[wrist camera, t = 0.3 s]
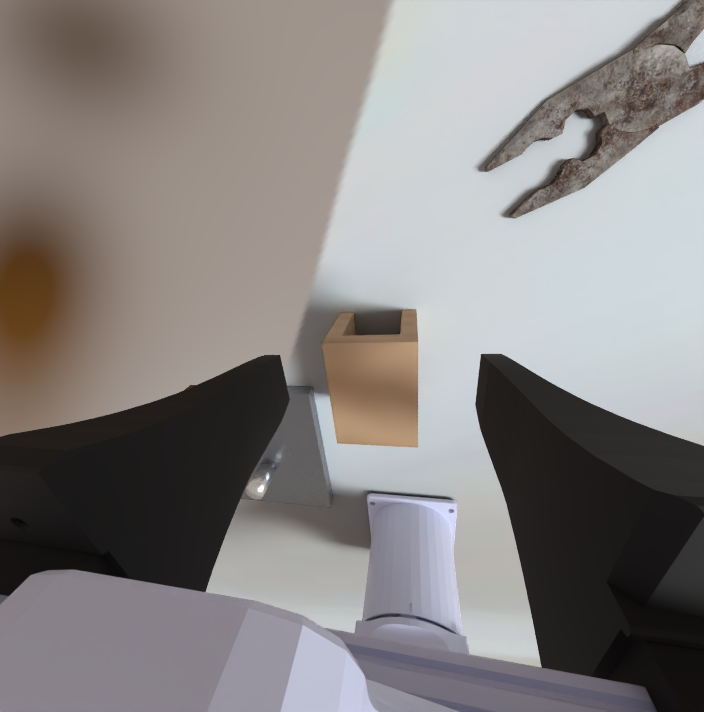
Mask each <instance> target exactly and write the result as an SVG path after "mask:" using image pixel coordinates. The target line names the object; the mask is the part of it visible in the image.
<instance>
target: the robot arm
mask: <svg viewBox="0 0 704 712" xmlns="http://www.w3.org/2000/svg"><path fill="white" fill-rule="evenodd" d="M289 401H290V398H289V393H288V389H287V385H286V380H285V376H284V371H283V367H282V362H281V358H280V355H264V356H261V357H258V358H256V359H253V360H251V361H248V362H246V363H244V364H242V365H240V366H238V367H235V368H233V369H231V370H229V371H227V372H225V373H223V374H221V375H219V376H216V377H214V378H212V379H210V380H207V381H205V382H203V383H201V384H198V385H196V386H194V387H192V388H189V389H187V390H184V391H182V392H179V393H177V394H174V395H172V396H168V397H166V398H163V399H160V400H157V401H154V402H151V403H148V404H144V405H141V406H138V407H135V408H131V409H128V410H124V411H121V412H118V413H114V414H110V415H106V416H102V417H98V418H94V419H89V420H85V421H80V422H75V423H71V424H66V425H61V426H55V427H50V428H44V429H38V430H33V431H27V432H21V433H15V434H9V435H5V436H2V437H0V712H704V446H702V445H699V444H696V443H693V442H690V441H687V440H684V439H681V438H678V437H675V436H672V435H669V434H666V433H663V432H661V431H658V430H655V429H652V428H649V427H647V426H644V425H641V424H638V423H636V422H633V421H631V420H628V419H626V418H623V417H621V416H618V415H616V414H614V413H611V412H609V411H607V410H604V409H602V408H600V407H598V406H595V405H593V404H591V403H589V402H587V401H584V400H582V399H580V398H578V397H576V396H574V395H573V394H571V393H569V392H567V391H565V390H563V389H561V388H559V387H557V386H556V385H554V384H552V383H550V382H548V381H547V380H545V379H543V378H541V377H540V376H538V375H536V374H535V373H533V372H531V371H530V370H528V369H526V368H525V367H523V366H522V365H520V364H518V363H517V362H515V361H513V360H512V359H510V358H508V357H506V356H504V355H502V354H481V360H480V369H479V377H478V386H477V395H476V404H475V405H476V410H477V415H478V420H479V425H480V429H481V432H482V435H483V438H484V441H485V444H486V447H487V449H488V452H489V455H490V458H491V460H492V463H493V466H494V469H495V471H496V474H497V477H498V480H499V482H500V485H501V488H502V491H503V494H504V497H505V500H506V504H507V508H508V512H509V516H510V520H511V524H512V528H513V532H514V536H515V540H516V545H517V549H518V554H519V558H520V562H521V567H522V571H523V576H524V581H525V585H526V590H527V595H528V600H529V605H530V609H531V614H532V619H533V624H534V629H535V635H536V640H537V645H538V650H539V656H540V661H541V666H542V668H540V667H535V666H529V665H524V664H518V663H513V662H508V661H502V660H497V659H491V658H486V657H480V656H475V655H469V648H468V641H467V637H466V636H463V630H462V622H461V614H460V605H459V597H458V589H457V581H456V572H455V564H454V556H453V548H454V537H455V527H456V516H457V503H456V502H455V501H454V500H447V499H435V498H423V497H411V496H399V495H388V494H376V493H370V494H368V495H367V505H368V514H369V523H370V532H371V549H370V557H369V566H368V575H367V584H366V592H365V601H364V610H363V618H362V621H359V620H357V621H356V627H355V633H349V632H344V631H339V630H333V629H328V628H323V627H321V626H320V625H318V624H316V623H315V622H313V621H311V620H310V619H308V618H306V617H305V616H303V615H300V614H297V613H293V612H290V611H287V610H284V609H280V608H277V607H274V606H271V605H267V604H264V603H261V602H257V601H253V600H247V599H241V598H235V597H230V596H224V595H218V594H212V593H207V592H205V591H206V588H207V585H208V582H209V579H210V576H211V573H212V570H213V567H214V565H215V562H216V559H217V557H218V554H219V551H220V548H221V546H222V543H223V540H224V538H225V535H226V532H227V530H228V527H229V525H230V522H231V520H232V518H233V515H234V513H235V510H236V508H237V505H238V503H239V501H240V498H241V496H242V494H243V492H244V489H245V487H246V485H247V483H248V480H249V479H250V477H251V475H252V473H253V471H254V469H255V467H256V465H257V464H258V462H259V460H260V459H261V457H262V455H263V453H264V452H265V450H266V448H267V446H268V445H269V443H270V441H271V439H272V438H273V436H274V434H275V432H276V431H277V429H278V427H279V425H280V423H281V422H282V419H283V417H284V414H285V412H286V409H287V406H288V404H289Z"/></svg>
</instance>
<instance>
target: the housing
mask: <svg viewBox="0 0 704 712" xmlns="http://www.w3.org/2000/svg"><path fill="white" fill-rule="evenodd" d="M321 344H322V350H323V357H324V363H325V369H326V375H327V382H328V388H329V394H330V401H331V407H332V413H333V420H334V426H335V432H336V438H337V443H341V444H361V445H380V446H399V447H418V333H417V314H416V310H402V318H401V331H400V334H396V335H356V330H355V320H354V312H342V313H340V314H339V316H338V318H337V319H336V321H335V322H334V324H333V326H332V327H331V329H330V331H329V332H328V334H327V335H326V337H325V339H324V340H323V342H322V343H321Z"/></svg>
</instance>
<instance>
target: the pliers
mask: <svg viewBox="0 0 704 712" xmlns="http://www.w3.org/2000/svg"><path fill="white" fill-rule="evenodd" d="M703 29H704V0H686V1H685V2H684V3H683V4H682V5H681V6H680V7H679V8H678V9H677V10H676V11H675V12H674V13H673V14H672V15H671V16H670V17H669V18H668V19H666V20H665V21H664V22H663V23H662V24H661V25H659V26H658V27H657V28H656V29H655V30H654V31H653V32H652V33H650V34H649V35H648V36H647V37H646V38H645V39H644V40H643V41H641V42H640V43H639V44H638V45H637V46H636V47H635V48H634V49H632V50H630V51H629V52H627V53H625V54H624V55H622V56H620V57H619V58H617V59H615V60H614V61H612V62H610V63H608V64H607V65H605V66H603V67H602V68H600V69H598V70H597V71H595V72H593V73H592V74H590V75H588V76H587V77H585V78H583V79H582V80H580V81H578V82H577V83H575V84H573V85H572V86H570V87H568V88H567V89H565V90H563V91H562V92H560V93H558V94H557V95H555V96H553V97H552V98H550V99H548V100H547V101H545V102H544V103H543V104H542V106H541V107H540V108H539V109H538V110H537V111H536V112H535V113H534V114H533V115H532V117H531V118H530V119H529V120H528V121H527V122H526V123H525V124H524V125H523V127H522V128H521V129H520V130H519V131H518V132H517V133H516V134H515V135H514V136H513V138H512V139H511V140H510V141H509V142H508V143H507V144H506V145H505V146H504V147H503V149H502V150H501V151H500V152H499V153H498V154H497V155H496V156H495V157H494V159H493V160H492V161H491V162H490V163H489V164H488V165H487V166H486V170H487V172H488V171H490V170H492V169H494V168H496V167H498V166H500V165H502V164H504V163H506V162H508V161H510V160H512V159H513V158H515V157H517V156H519V155H521V154H522V153H523V152H524V151H525V149H526V148H527V147H528V146H530V144H532V143H533V142H535V141H538V140H544V141H545V140H550V139H552V138H554V137H556V136H558V135H560V134H562V133H563V129H564V125H565V120H566V119H567V118H568V117H569V116H570V115H571V114H572V113H573V112H578V111H583V112H584V113H585V114H586V115H587V116H588V118H589V119H590V118H593V117H595V116H597V115H599V116H600V119H601V122H602V124H604V125H603V127H602V128H601V129H600V130H599V131H598V132H597V133H596V147H595V148H594V150H593V152H592V153H591V155H590V157H588V158H586V159H584V160H582V161H580V160H577V159H574V158H572V159H568V160H567V161H566V162H565V163H564V164H563V165H562V166H561V167H560V169H559V170H558V173H557V176H555V178H554V180H553V181H551V183H549V185H547V186H545V187H544V188H540V189H538V190H535V191H534V192H533V193H532V194H531V195H530V196H529V197H528V198H527V199H526V200H525V201H524V202H522V203H521V204H520V205H519V206H518V207H517V208H516V209H515V210H514V211H513V212H512V213H511V214H510V216H511V217H512V218H517V217H519V216H522V215H524V214H526V213H528V212H531V211H533V210H535V209H537V208H540V207H542V206H544V205H546V204H549V203H551V202H553V201H555V200H558V199H560V198H562V197H564V196H567V195H569V194H571V193H573V192H576V191H578V190H580V189H582V188H585V187H586V186H587V185H588V184H590V183H591V182H592V181H593V180H595V179H596V178H597V177H598V176H600V175H601V174H602V173H604V172H605V171H606V170H607V169H609V168H610V167H611V166H612V165H614V164H615V163H616V162H617V161H619V160H620V159H621V158H622V157H624V156H625V155H626V154H627V153H629V152H630V151H631V150H632V149H634V148H635V147H636V146H637V145H639V144H640V143H641V142H642V141H643V140H645V139H646V138H647V137H648V136H649V135H651V134H652V133H653V132H654V131H655V130H657V129H658V128H659V127H658V126H660V125H662V124H664V123H665V122H667V121H669V120H671V119H672V118H674V117H676V116H678V115H679V114H681V113H683V112H685V111H686V110H688V109H690V108H692V107H694V106H695V105H697V104H699V103H701V101H702V100H704V63H703V64H701V65H699V66H696V67H691V68H689V65H688V62H687V59H686V56H685V54H684V53H686V51H687V50H688V48H689V47H690V45H691V44H692V42H693V41H694V40H695V38H696V37H697V36H698V35H699V34H700V33H701V31H702V30H703Z"/></svg>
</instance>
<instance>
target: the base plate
mask: <svg viewBox="0 0 704 712" xmlns="http://www.w3.org/2000/svg"><path fill="white" fill-rule="evenodd" d="M194 386H196V385H190V386H189V387H188V388H186V389H185V390H187V389H189V388H192V387H194ZM287 389H288V393H289V398H290V401H289V404H288V406H287V409H286V412H285V414H284V417H283V419H282V422H281V423H280V425H279V427H278V429H277V431H276V432H275V434H274V436H273V438H272V439H271V441H270V443H269V445H268V446H267V448H266V450H265V452H264V453H263V455H262V457H261V459H260V460H259V462H258V464H257V465H256V467H255V469H254V471H253V473H252V475H251V477H250V479H249V480H248V483H247V485H246V487H245V489H244V492H243V494H242V496H241V498H240V499H251V500H261V501H271V502H282V503H292V504H302V505H313V506H323V507H331V504H332V500H333V495H332V489H331V484H330V479H329V473H328V468H327V463H326V458H325V452H324V447H323V442H322V436H321V431H320V426H319V420H318V415H317V410H316V404H315V399H314V394H313V389H312V387H287Z"/></svg>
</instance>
